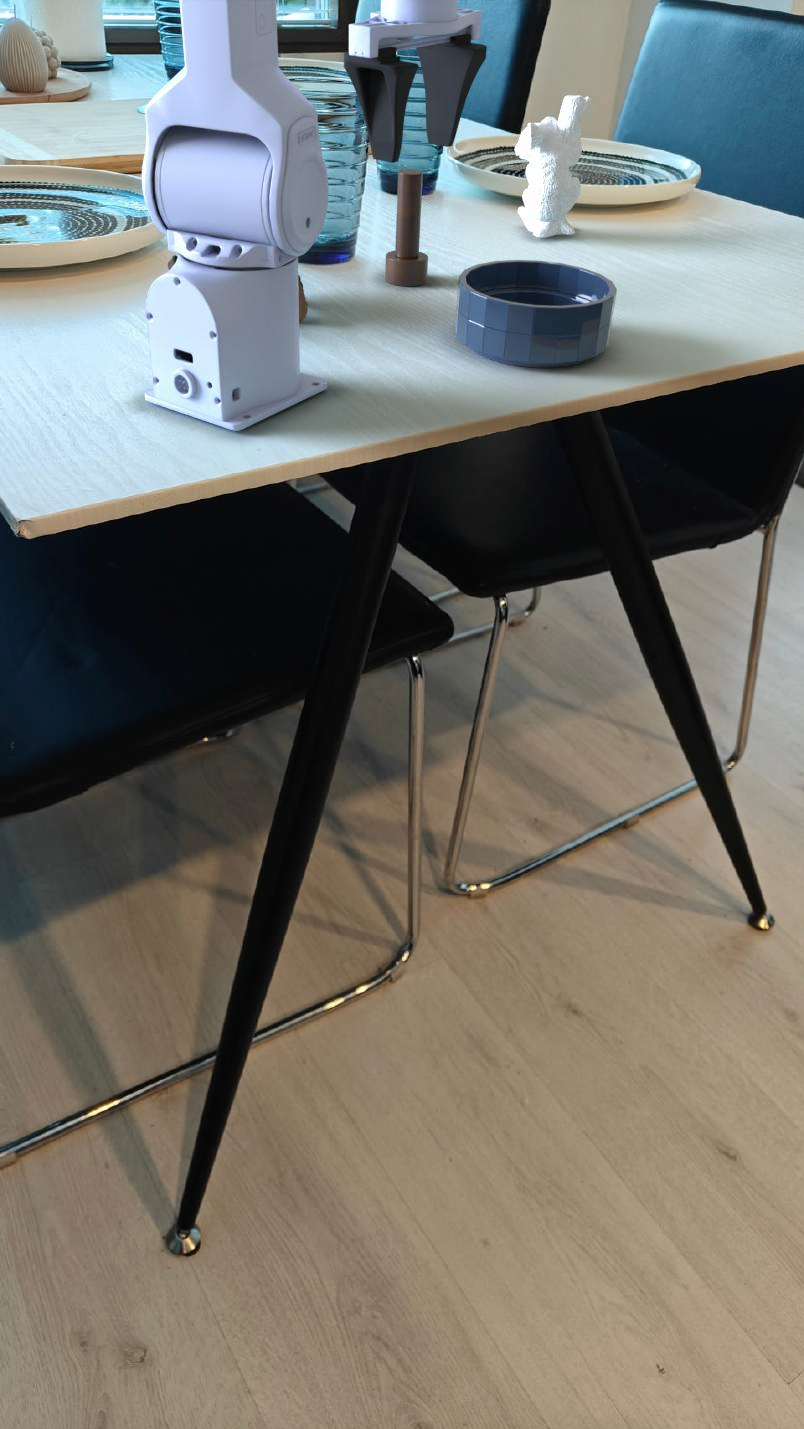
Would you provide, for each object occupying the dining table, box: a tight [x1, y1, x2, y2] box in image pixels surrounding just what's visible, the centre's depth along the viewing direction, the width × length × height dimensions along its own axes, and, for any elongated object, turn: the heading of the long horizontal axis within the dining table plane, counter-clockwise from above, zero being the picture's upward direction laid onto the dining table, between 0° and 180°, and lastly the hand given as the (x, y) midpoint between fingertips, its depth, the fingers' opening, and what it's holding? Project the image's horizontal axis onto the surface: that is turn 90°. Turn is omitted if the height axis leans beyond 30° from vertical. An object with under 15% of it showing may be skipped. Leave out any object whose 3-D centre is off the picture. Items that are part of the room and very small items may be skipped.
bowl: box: [454, 259, 618, 369], centre depth 81 cm, size 11×11×4 cm
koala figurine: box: [514, 94, 593, 239], centre depth 104 cm, size 8×7×12 cm
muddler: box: [384, 168, 429, 287], centre depth 91 cm, size 4×4×8 cm
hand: (413, 152), depth 87 cm, fingers open, 7 cm apart
